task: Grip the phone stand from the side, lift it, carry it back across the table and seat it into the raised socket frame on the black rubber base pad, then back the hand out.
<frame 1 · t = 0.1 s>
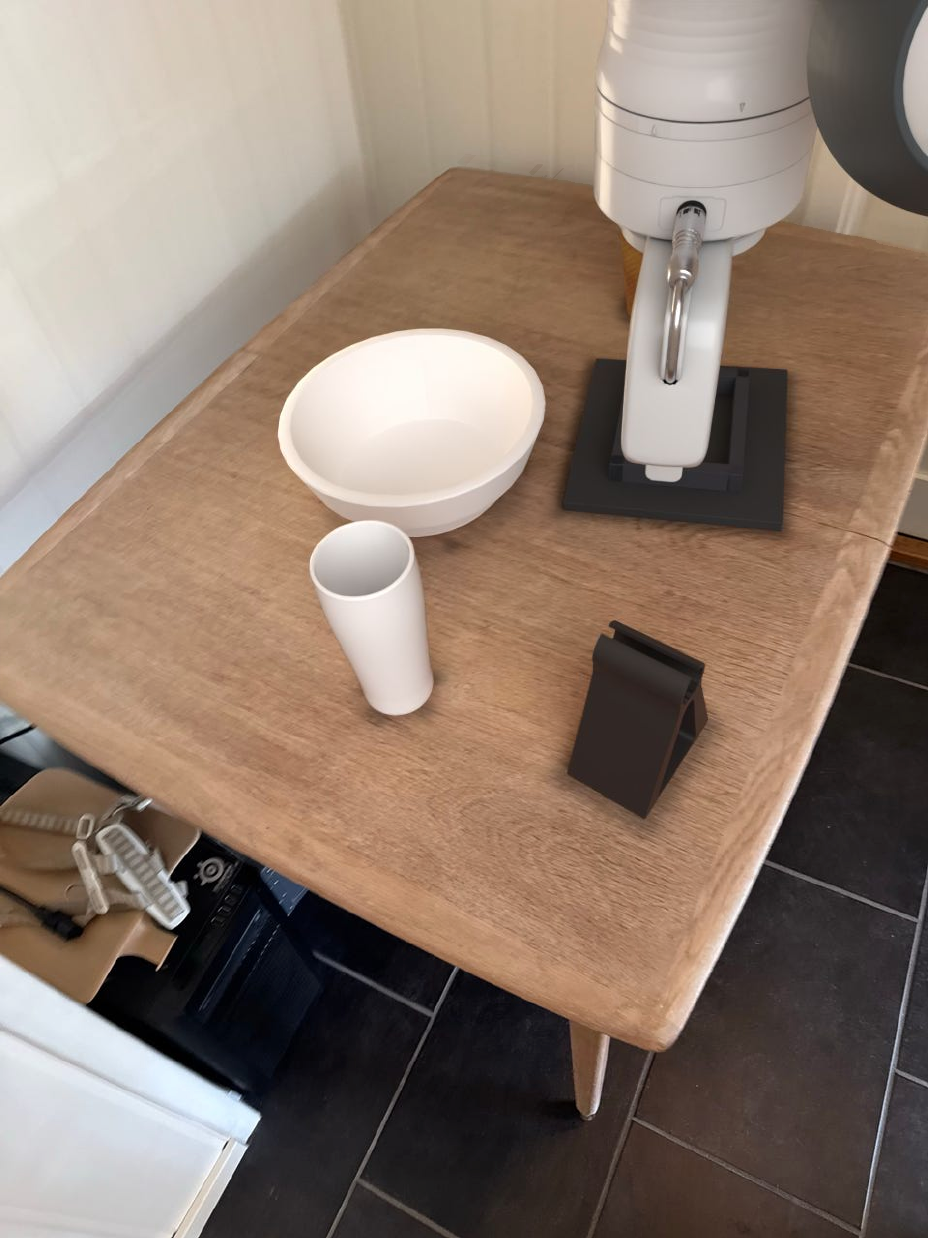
hand: (672, 411, 47), 23 cm above the table, tool pointing down, fingers open, 8 cm apart
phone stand: (637, 750, 61), on the table
disposable coffee cup: (657, 311, 92), on the table
dock pad: (679, 440, 79), on the table
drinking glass: (400, 690, 66), on the table
bowl: (424, 482, 80), on the table
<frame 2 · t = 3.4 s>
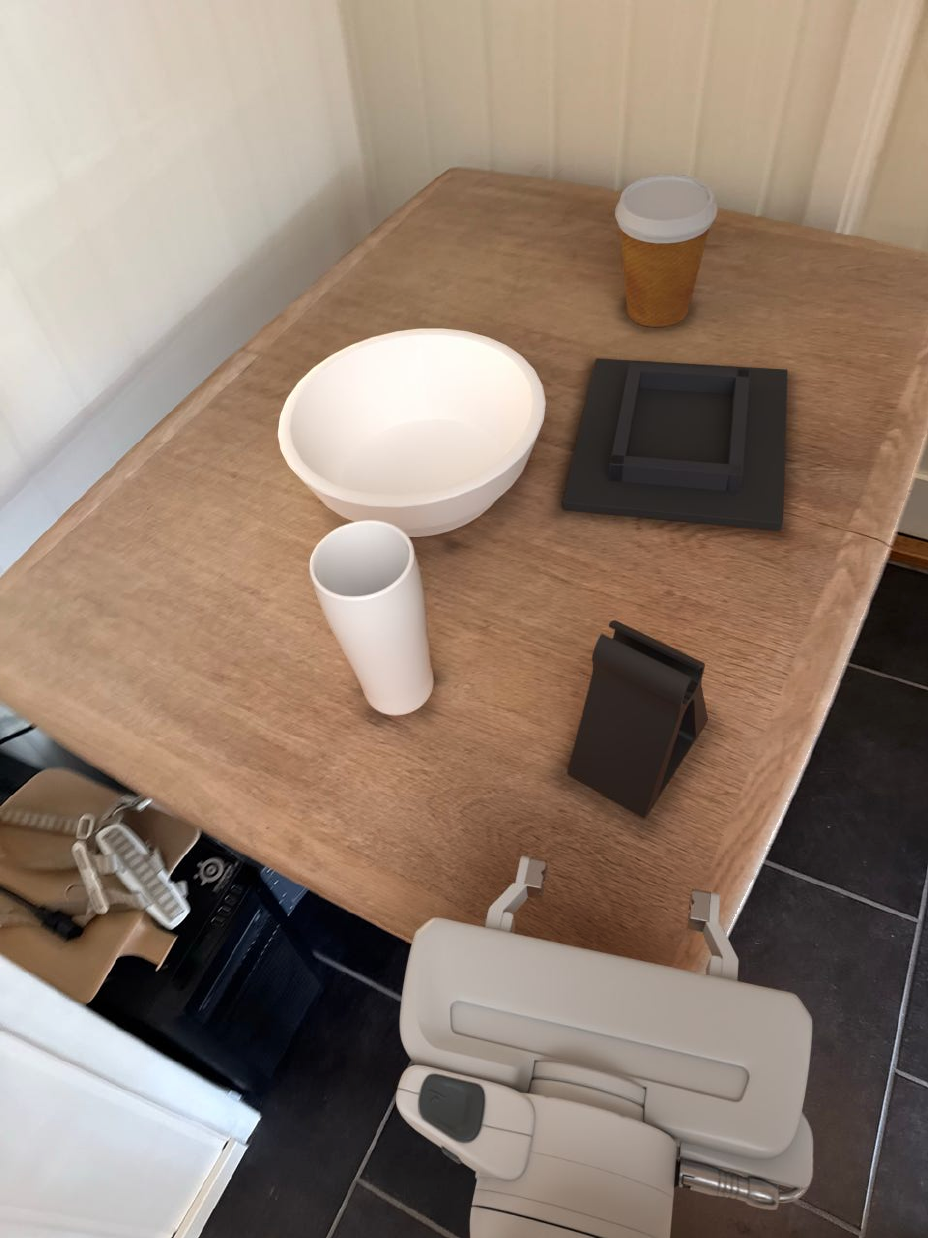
hand: (618, 877, 49), 7 cm above the table, tool horizontal, fingers open, 8 cm apart
nothing on the table moved.
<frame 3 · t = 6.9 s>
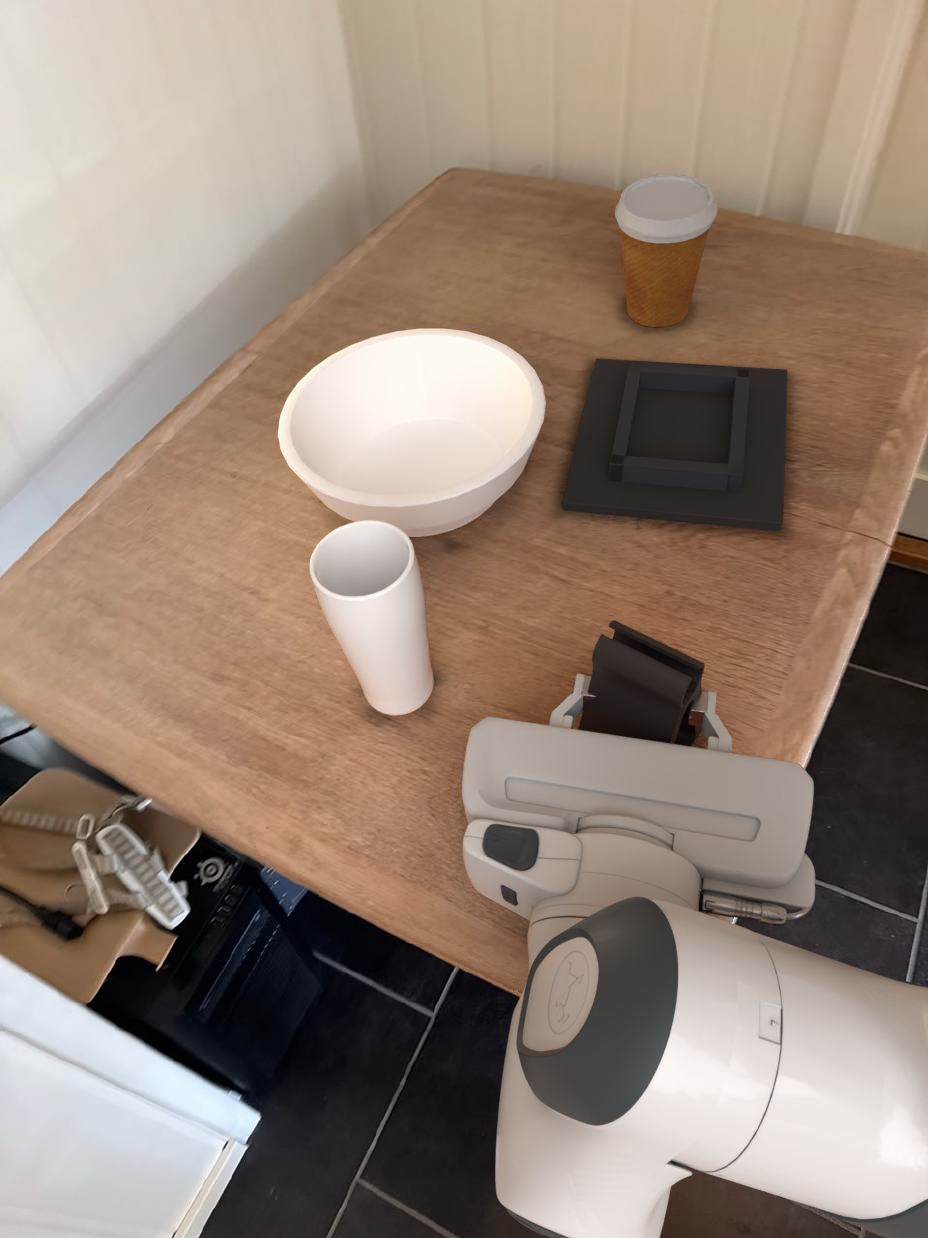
hand: (644, 687, 56), 7 cm above the table, tool horizontal, fingers closed on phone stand, 6 cm apart
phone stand: (637, 750, 61), on the table, touching gripper
everything else where it was.
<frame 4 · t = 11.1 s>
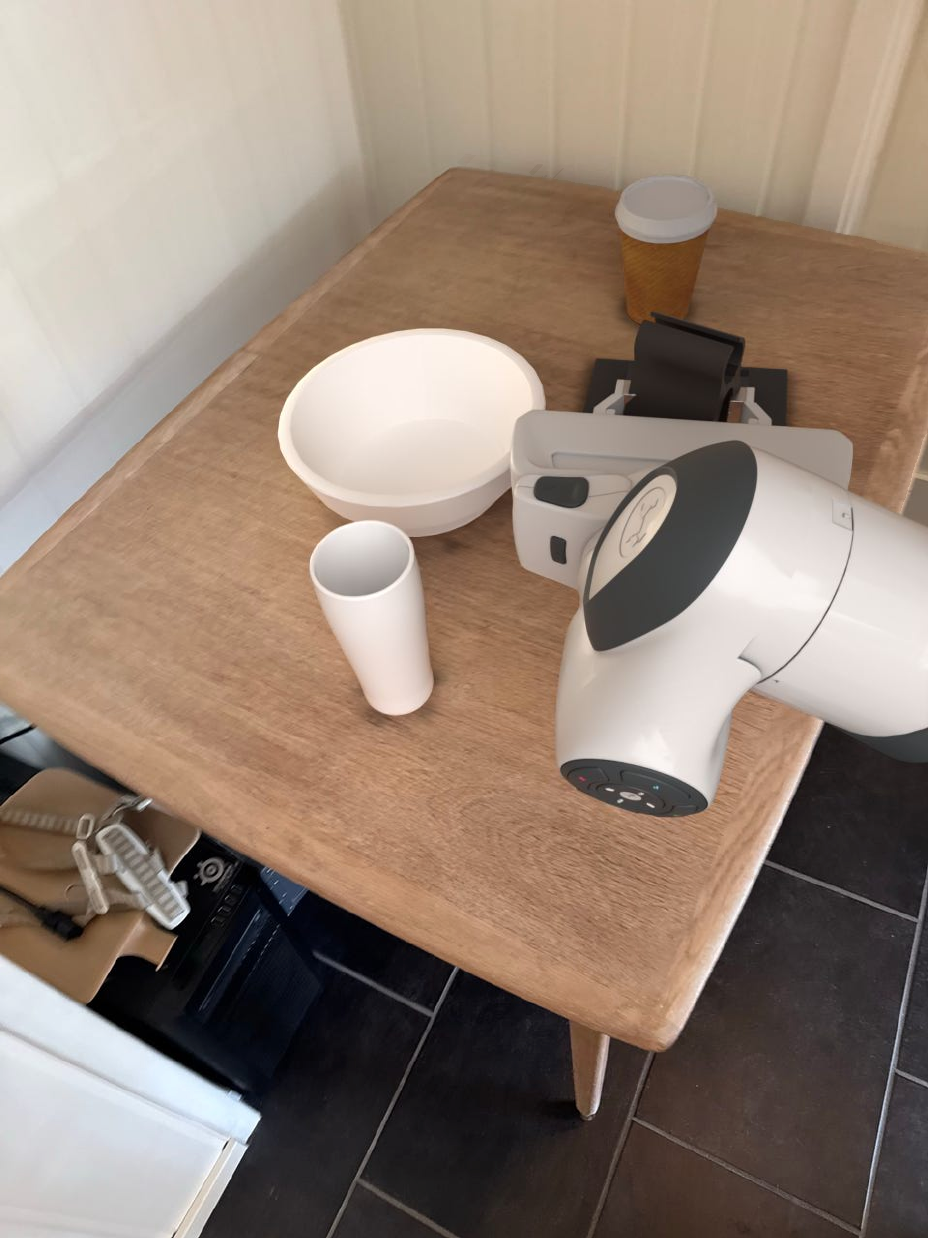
hand: (683, 391, 58), 17 cm above the table, tool horizontal, fingers closed on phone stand, 6 cm apart
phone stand: (673, 476, 63), point 10 cm above the table, touching gripper
everything else where it was.
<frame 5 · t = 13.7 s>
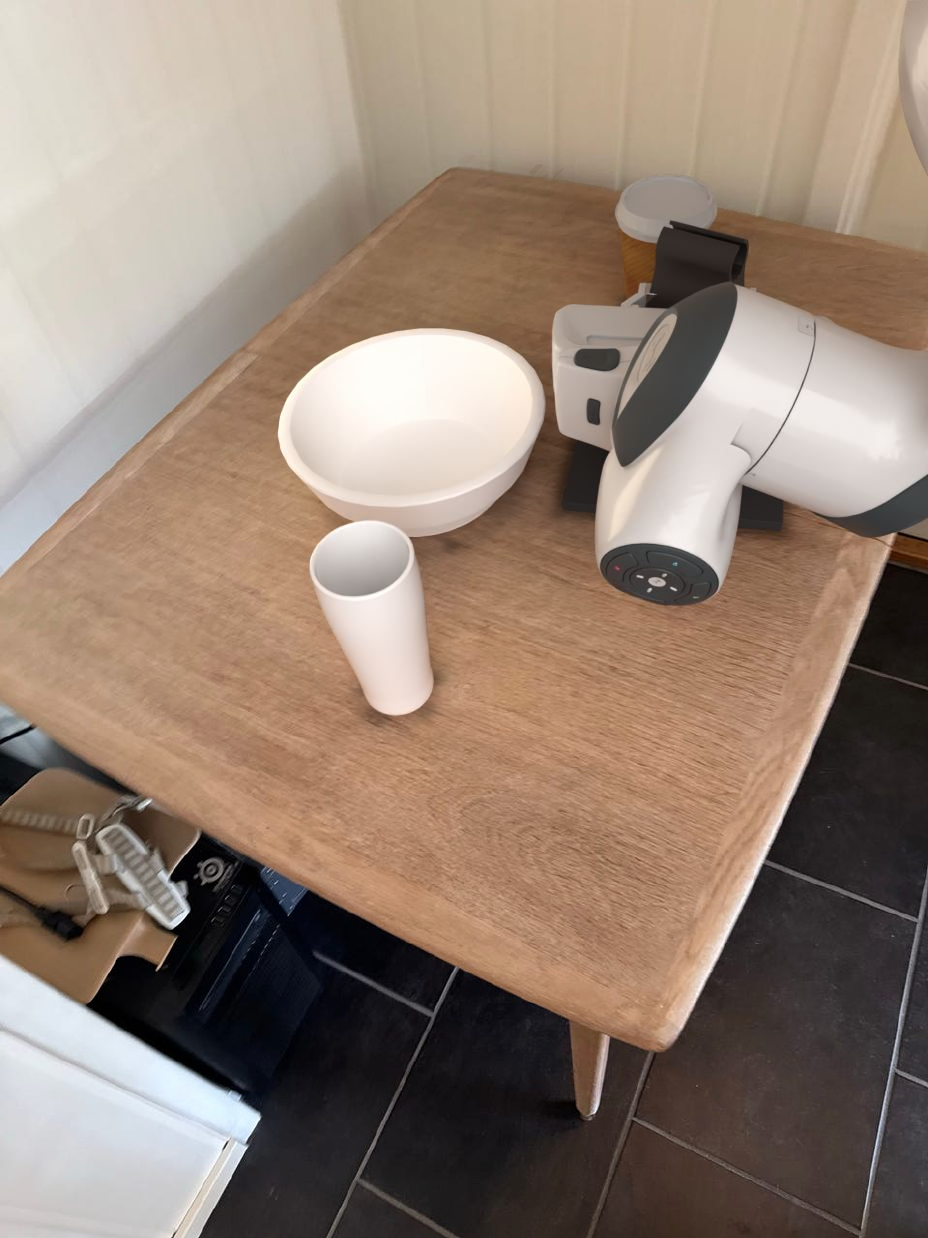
hand: (695, 292, 68), 14 cm above the table, tool horizontal, fingers closed on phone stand, 6 cm apart
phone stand: (686, 372, 73), point 8 cm above the table, touching gripper
everything else where it was.
when the fingers open (9 cm above the table, at t = 15.6 s): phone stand stays where it is, resting on dock pad.
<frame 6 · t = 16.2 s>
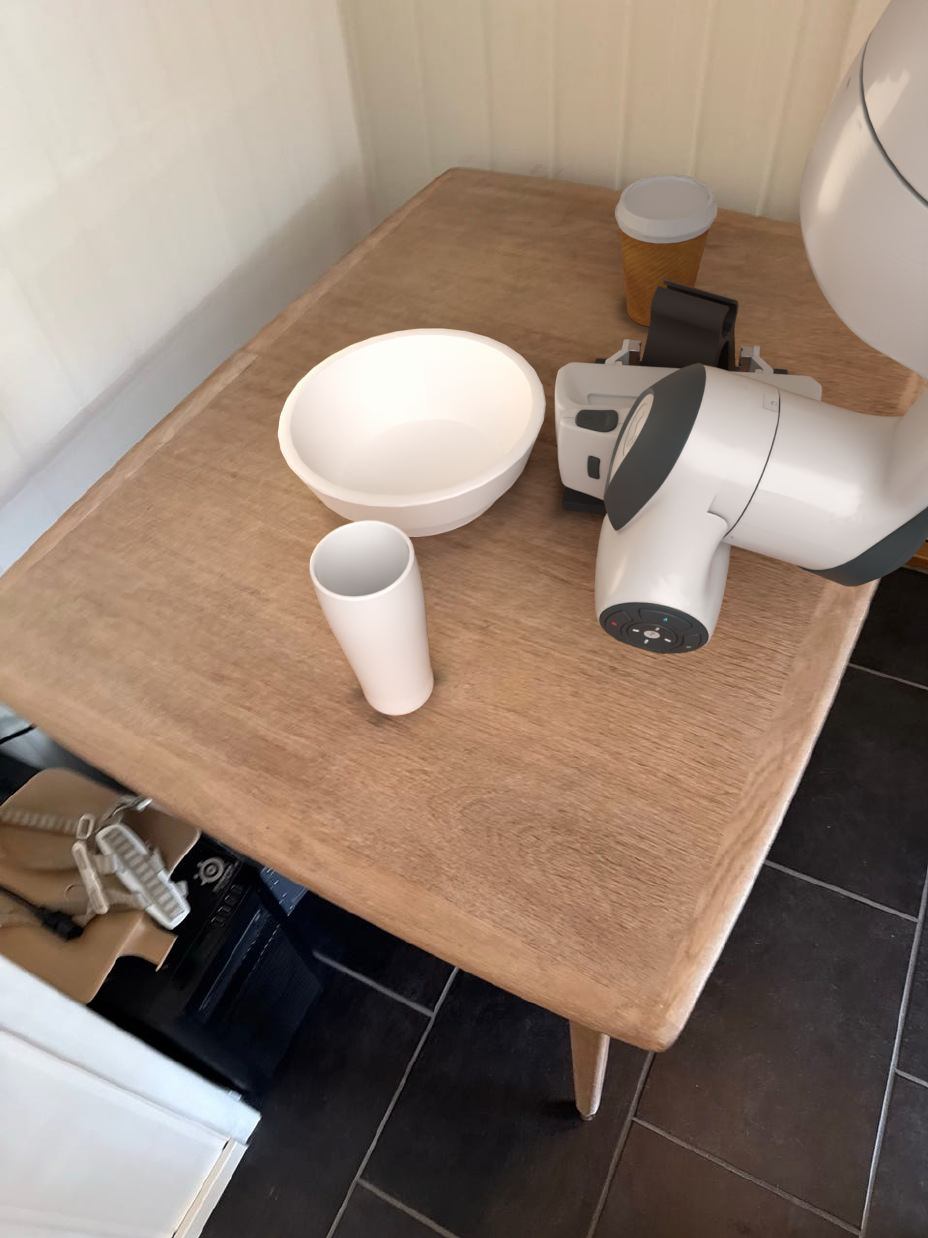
hand: (690, 349, 73), 9 cm above the table, tool horizontal, fingers open, 8 cm apart
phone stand: (680, 417, 77), point 3 cm above the table, touching dock pad
everything else where it was.
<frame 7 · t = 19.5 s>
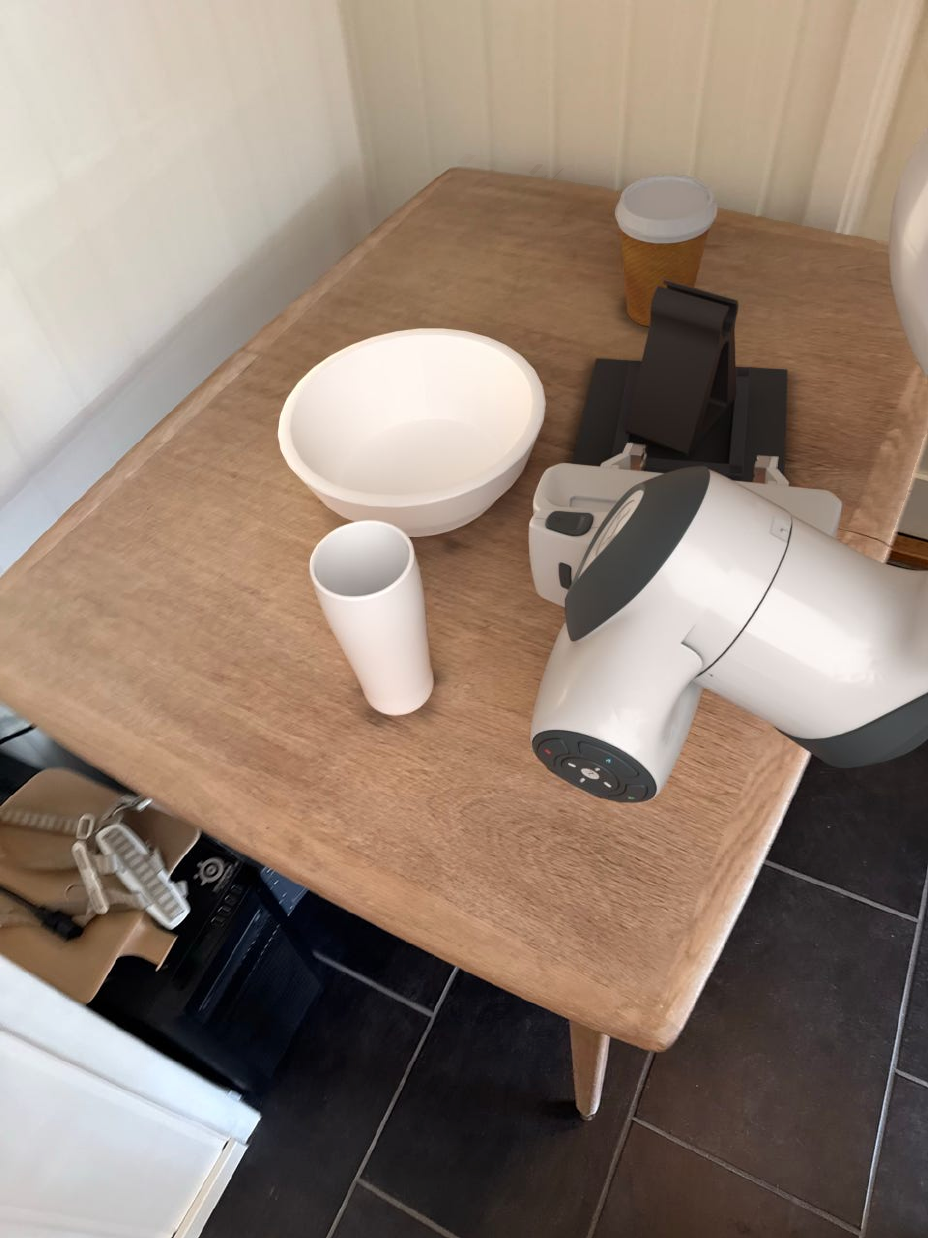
hand: (700, 457, 65), 9 cm above the table, tool horizontal, fingers open, 8 cm apart
nothing on the table moved.
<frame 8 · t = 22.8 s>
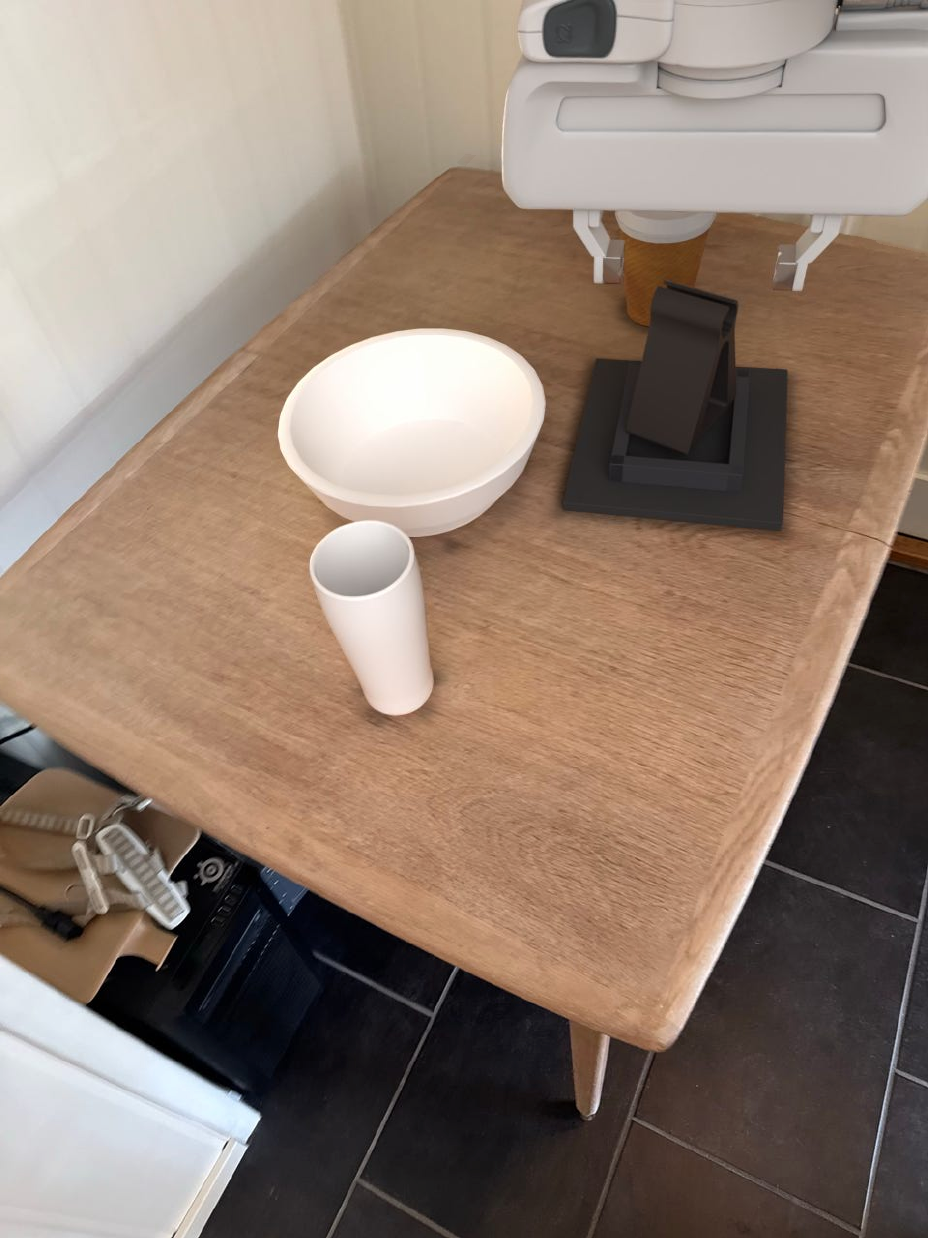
hand: (695, 281, 48), 27 cm above the table, tool pointing down, fingers open, 8 cm apart
nothing on the table moved.
at the end: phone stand 0.1 cm off-centre on the dock pad, point 2.8 cm above the dock pad's base; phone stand tilted 0°; the gripper is holding nothing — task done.
